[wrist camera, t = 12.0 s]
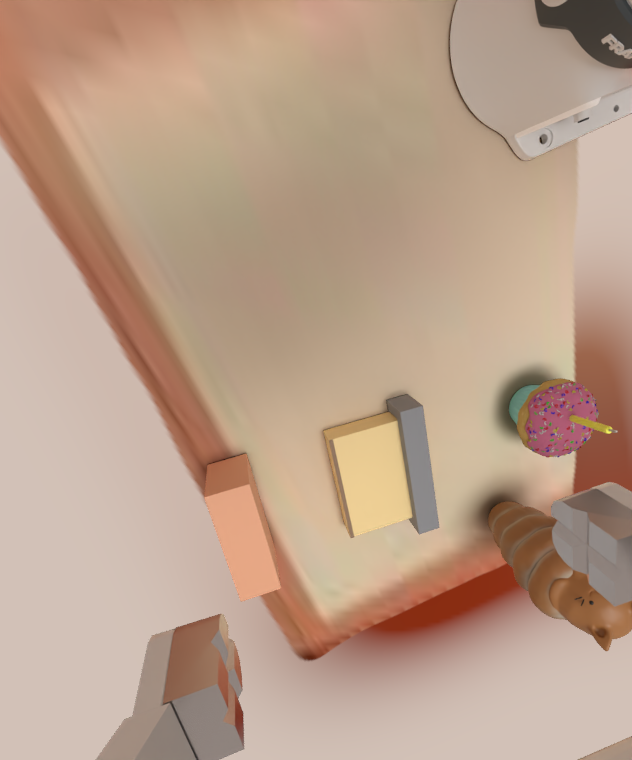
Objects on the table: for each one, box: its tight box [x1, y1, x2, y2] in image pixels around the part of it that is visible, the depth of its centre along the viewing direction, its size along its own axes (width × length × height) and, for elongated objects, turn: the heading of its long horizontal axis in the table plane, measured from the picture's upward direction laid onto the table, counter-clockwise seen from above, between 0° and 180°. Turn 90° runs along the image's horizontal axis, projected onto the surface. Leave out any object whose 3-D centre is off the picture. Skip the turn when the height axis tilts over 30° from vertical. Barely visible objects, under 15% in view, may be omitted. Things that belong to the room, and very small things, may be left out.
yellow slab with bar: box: [324, 394, 439, 538], centre depth 43 cm, size 10×15×4 cm
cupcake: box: [509, 379, 617, 457], centre depth 41 cm, size 9×8×12 cm
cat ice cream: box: [488, 501, 632, 651], centre depth 42 cm, size 9×8×18 cm
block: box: [204, 454, 281, 601], centre depth 40 cm, size 4×12×6 cm, turn 12°
